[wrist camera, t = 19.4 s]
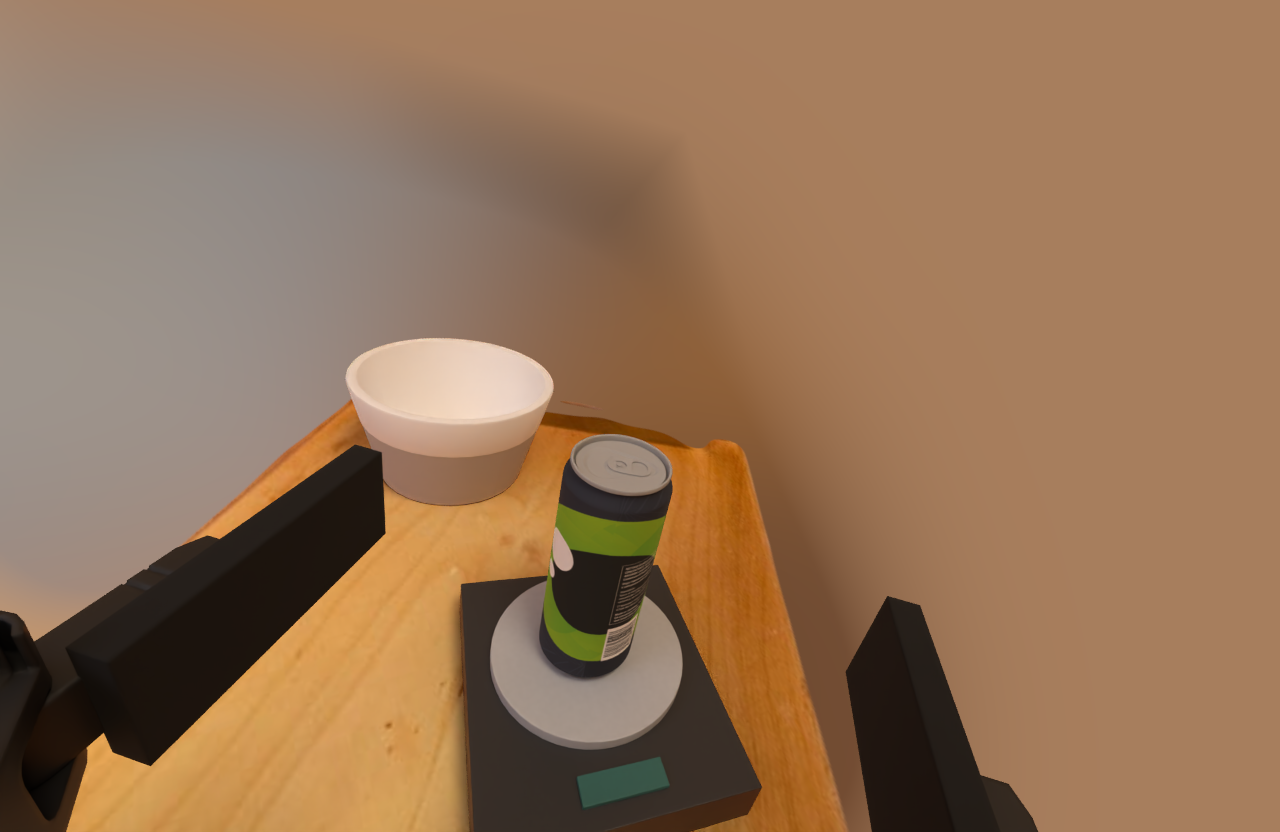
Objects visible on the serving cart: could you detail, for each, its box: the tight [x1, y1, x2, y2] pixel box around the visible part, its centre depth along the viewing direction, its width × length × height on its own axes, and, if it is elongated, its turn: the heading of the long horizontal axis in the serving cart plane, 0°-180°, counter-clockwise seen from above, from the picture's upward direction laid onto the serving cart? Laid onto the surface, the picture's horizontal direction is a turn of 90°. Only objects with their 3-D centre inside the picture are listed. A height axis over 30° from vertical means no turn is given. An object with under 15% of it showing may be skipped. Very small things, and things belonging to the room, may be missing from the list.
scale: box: [460, 565, 762, 832], centre depth 36 cm, size 16×18×4 cm
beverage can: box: [539, 434, 672, 678], centre depth 33 cm, size 6×6×15 cm
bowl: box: [345, 338, 554, 505], centre depth 55 cm, size 19×19×11 cm
